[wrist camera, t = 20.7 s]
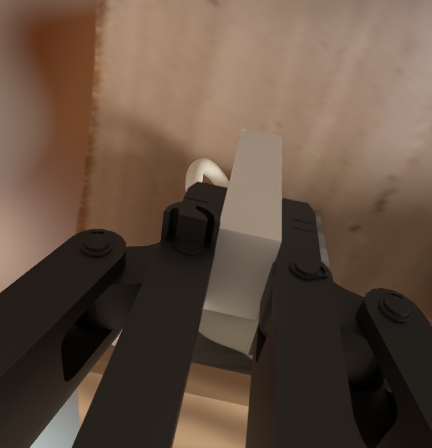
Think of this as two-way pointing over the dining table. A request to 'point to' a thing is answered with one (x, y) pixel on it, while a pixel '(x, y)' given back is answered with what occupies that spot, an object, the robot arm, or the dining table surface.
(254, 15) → the dining table surface
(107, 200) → the dining table surface
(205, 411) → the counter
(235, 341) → the pitcher
